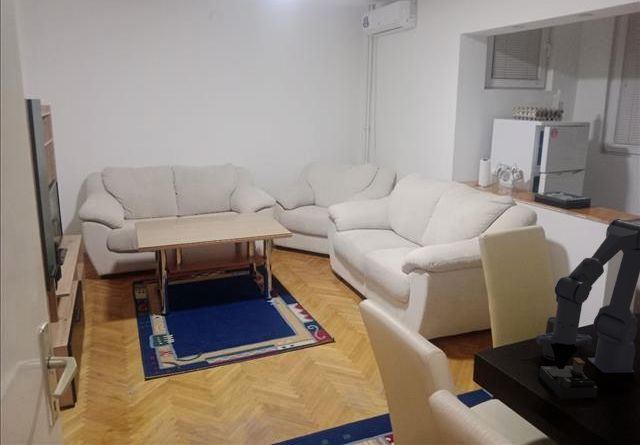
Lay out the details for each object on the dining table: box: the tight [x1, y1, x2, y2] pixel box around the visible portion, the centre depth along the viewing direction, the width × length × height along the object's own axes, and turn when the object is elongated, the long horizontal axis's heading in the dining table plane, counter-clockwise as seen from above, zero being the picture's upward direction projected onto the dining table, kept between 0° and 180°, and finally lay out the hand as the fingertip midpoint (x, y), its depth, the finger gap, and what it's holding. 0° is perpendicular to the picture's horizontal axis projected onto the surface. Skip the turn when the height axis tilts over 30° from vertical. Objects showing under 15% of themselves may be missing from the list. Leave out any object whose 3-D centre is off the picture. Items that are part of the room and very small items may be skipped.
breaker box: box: [538, 365, 599, 399], centre depth 137 cm, size 10×11×5 cm
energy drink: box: [541, 316, 556, 362], centre depth 152 cm, size 5×5×12 cm
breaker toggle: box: [570, 357, 586, 375], centre depth 138 cm, size 2×3×4 cm
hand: (559, 367), depth 137 cm, fingers closed
